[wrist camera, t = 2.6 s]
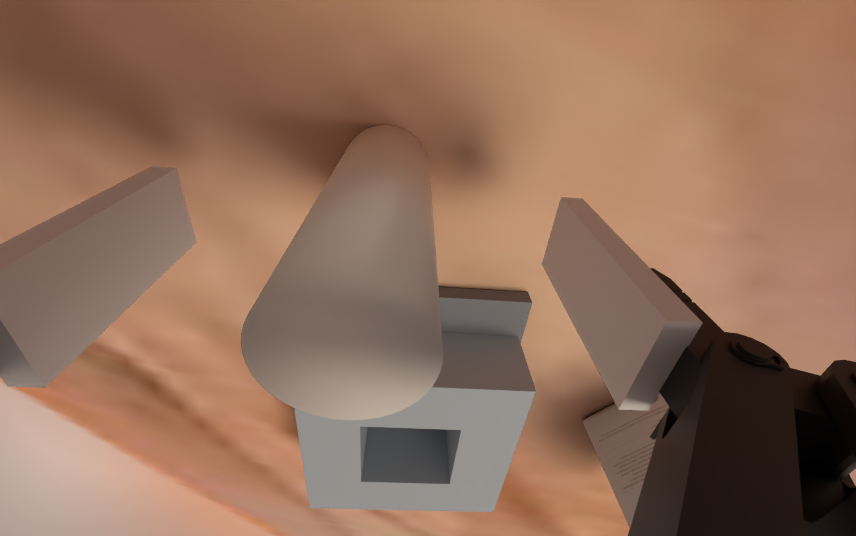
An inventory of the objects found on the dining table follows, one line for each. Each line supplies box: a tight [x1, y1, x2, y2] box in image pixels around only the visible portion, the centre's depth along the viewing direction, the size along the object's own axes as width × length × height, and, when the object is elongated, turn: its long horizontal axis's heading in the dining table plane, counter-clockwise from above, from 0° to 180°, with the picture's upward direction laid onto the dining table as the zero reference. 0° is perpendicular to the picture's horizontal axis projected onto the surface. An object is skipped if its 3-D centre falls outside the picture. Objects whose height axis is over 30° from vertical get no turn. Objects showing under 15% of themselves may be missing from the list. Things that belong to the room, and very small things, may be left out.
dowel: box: [241, 125, 443, 420], centre depth 13 cm, size 4×4×12 cm
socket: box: [294, 287, 536, 512], centre depth 24 cm, size 17×12×5 cm
